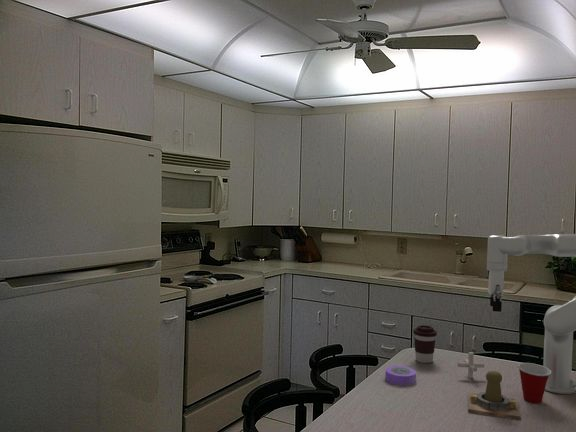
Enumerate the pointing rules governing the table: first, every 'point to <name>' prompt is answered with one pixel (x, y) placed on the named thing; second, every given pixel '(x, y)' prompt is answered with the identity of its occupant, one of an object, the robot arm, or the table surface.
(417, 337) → the coffee cup
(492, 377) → the olive knobbed peg
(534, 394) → the plastic cup
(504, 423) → the table surface
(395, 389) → the table surface
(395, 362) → the table surface
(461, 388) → the table surface
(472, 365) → the pipe connector
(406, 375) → the masking tape
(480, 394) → the socket
